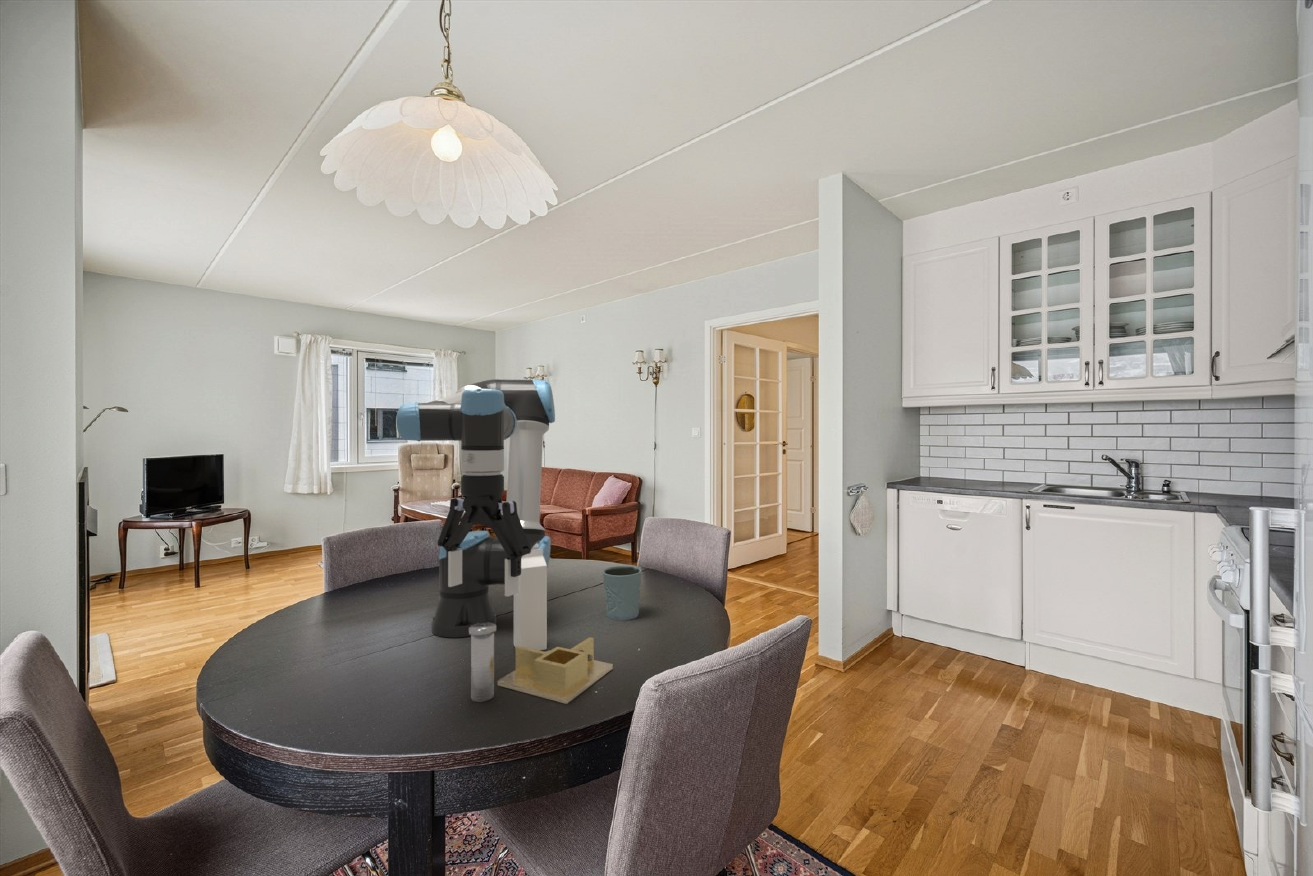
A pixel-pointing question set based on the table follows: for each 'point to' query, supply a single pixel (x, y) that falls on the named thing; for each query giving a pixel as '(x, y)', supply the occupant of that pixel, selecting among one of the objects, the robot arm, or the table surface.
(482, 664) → the pin
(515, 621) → the milk
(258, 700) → the table surface
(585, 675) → the open box on plate
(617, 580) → the teal cup
